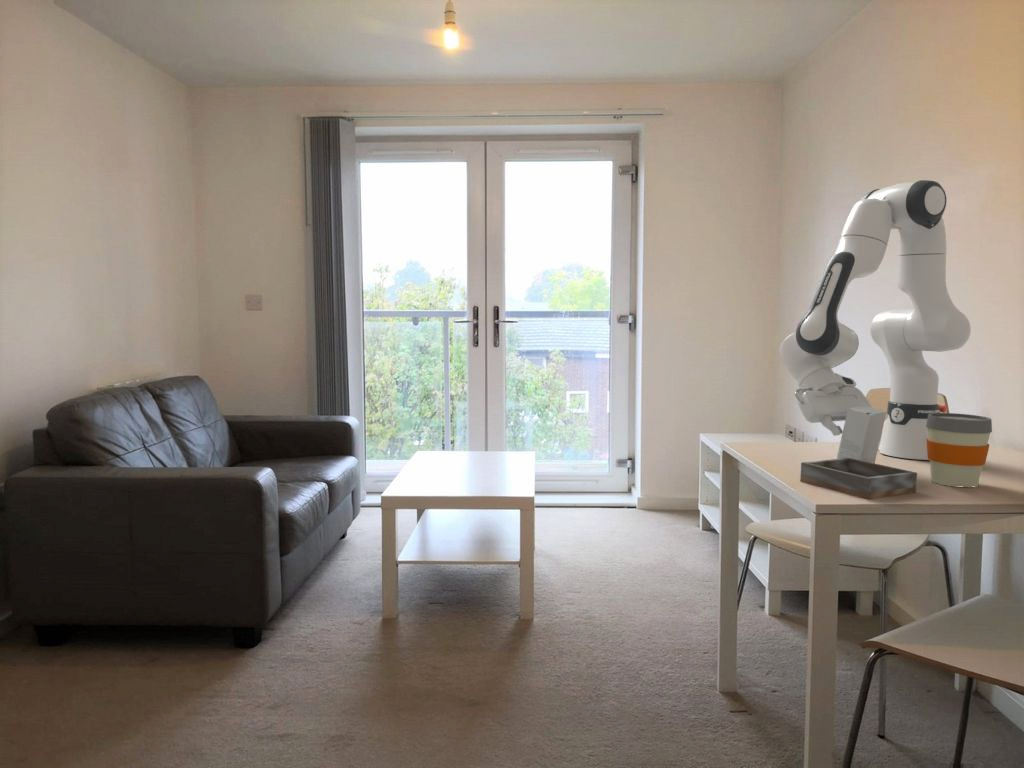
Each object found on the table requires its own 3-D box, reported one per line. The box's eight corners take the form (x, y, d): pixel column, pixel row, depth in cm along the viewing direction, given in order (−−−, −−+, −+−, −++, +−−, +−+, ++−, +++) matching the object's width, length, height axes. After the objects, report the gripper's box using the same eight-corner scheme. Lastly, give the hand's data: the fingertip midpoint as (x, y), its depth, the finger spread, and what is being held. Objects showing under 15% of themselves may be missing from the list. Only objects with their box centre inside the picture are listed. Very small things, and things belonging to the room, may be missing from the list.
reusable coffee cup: (965, 477, 169) (970, 413, 168) (1000, 490, 157) (1006, 421, 156) (911, 476, 170) (915, 412, 168) (941, 489, 157) (946, 420, 156)
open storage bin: (847, 475, 169) (848, 457, 169) (915, 492, 154) (917, 472, 154) (800, 481, 163) (801, 462, 162) (866, 499, 147) (868, 478, 147)
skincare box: (850, 463, 180) (862, 404, 177) (874, 470, 175) (888, 410, 172) (833, 467, 175) (846, 406, 172) (858, 475, 170) (871, 413, 167)
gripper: (799, 381, 176) (830, 427, 168) (858, 379, 185) (890, 423, 177) (784, 397, 181) (813, 443, 173) (842, 394, 189) (873, 438, 182)
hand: (853, 432), depth 175 cm, fingers closed on skincare box, 8 cm apart
